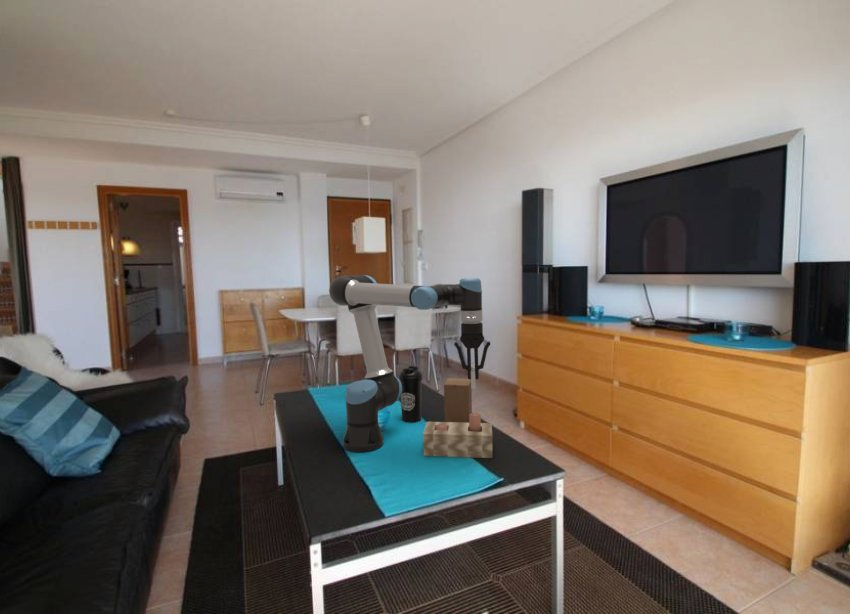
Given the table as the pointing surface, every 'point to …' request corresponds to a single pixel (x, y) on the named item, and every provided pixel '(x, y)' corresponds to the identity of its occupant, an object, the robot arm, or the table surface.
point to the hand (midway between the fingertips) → (473, 388)
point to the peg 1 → (441, 427)
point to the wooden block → (457, 400)
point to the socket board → (457, 440)
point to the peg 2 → (475, 422)
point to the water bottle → (411, 394)
